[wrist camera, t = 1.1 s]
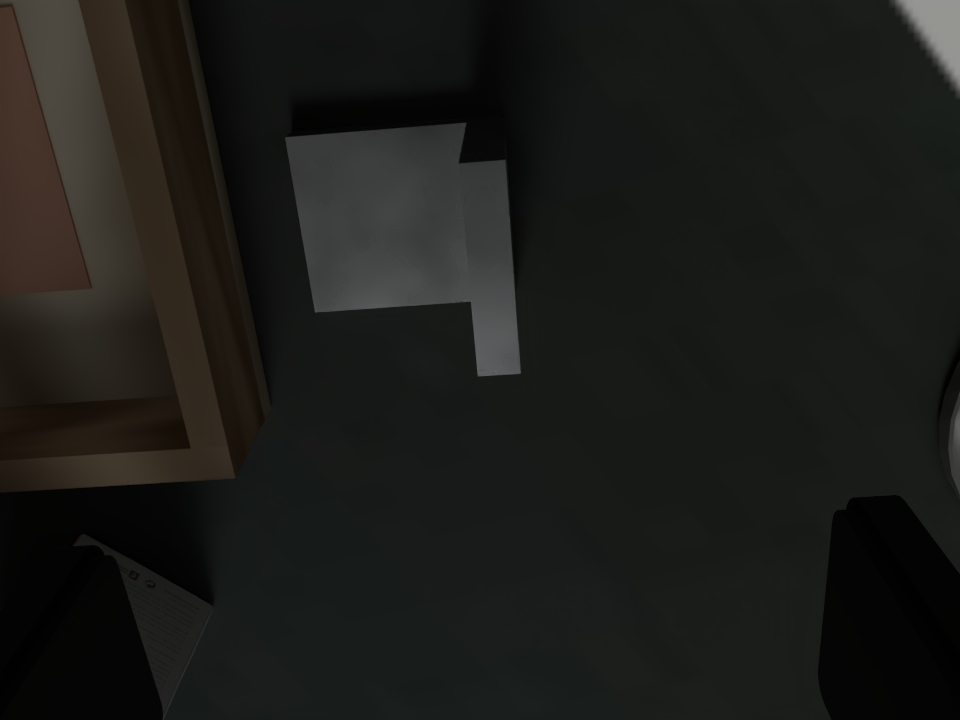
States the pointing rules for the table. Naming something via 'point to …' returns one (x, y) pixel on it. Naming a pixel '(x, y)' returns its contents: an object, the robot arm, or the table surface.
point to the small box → (161, 620)
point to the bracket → (412, 222)
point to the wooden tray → (117, 255)
